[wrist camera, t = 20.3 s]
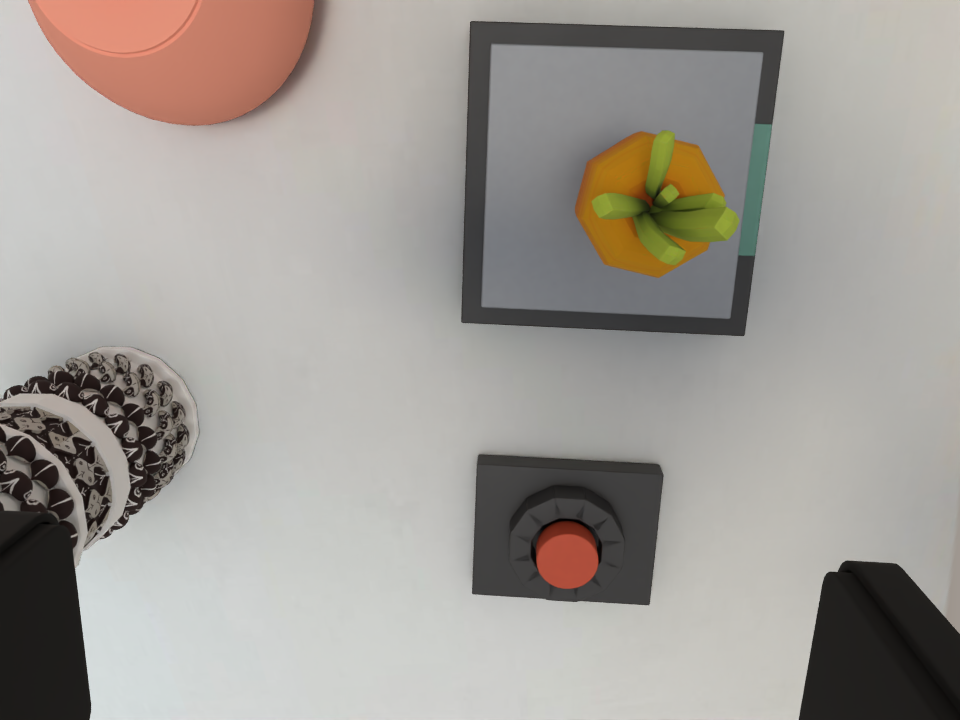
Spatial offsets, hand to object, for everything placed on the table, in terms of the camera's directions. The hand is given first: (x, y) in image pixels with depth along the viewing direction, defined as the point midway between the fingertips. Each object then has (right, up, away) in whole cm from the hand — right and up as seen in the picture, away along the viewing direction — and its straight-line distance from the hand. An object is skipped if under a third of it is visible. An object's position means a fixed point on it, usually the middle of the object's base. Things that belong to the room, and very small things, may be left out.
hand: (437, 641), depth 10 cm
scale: (+7, +12, +30) cm, 33 cm away
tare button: (+5, -7, +32) cm, 34 cm away
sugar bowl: (-13, +22, +28) cm, 38 cm away
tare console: (+5, -6, +35) cm, 36 cm away
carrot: (+7, +11, +27) cm, 30 cm away
